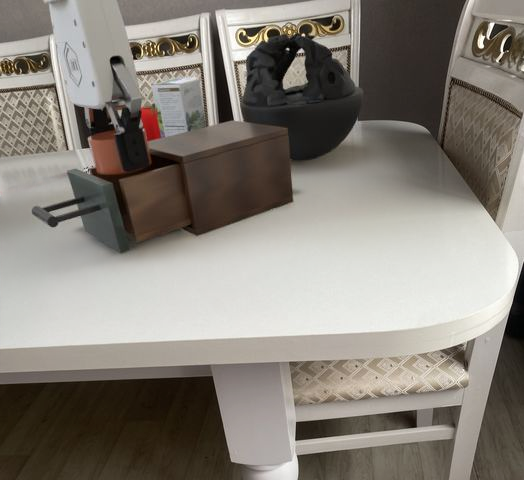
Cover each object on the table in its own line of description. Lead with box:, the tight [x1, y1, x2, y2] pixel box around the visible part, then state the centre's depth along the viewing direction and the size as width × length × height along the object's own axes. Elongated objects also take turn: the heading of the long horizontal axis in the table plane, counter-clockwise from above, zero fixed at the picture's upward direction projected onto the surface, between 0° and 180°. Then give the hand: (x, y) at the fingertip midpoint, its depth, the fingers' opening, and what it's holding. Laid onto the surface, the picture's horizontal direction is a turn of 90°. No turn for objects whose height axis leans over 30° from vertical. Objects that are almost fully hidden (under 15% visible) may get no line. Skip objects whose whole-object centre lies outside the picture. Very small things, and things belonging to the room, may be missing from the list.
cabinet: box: [148, 119, 294, 237], centre depth 70 cm, size 16×13×10 cm
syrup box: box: [151, 76, 207, 138], centre depth 88 cm, size 6×6×14 cm
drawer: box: [31, 154, 192, 254], centre depth 64 cm, size 21×11×8 cm, turn 127°
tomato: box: [141, 103, 161, 141], centre depth 98 cm, size 12×12×10 cm
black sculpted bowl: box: [239, 32, 364, 162], centre depth 86 cm, size 20×20×19 cm
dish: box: [87, 128, 152, 175], centre depth 62 cm, size 7×7×4 cm
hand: (123, 163), depth 62 cm, fingers closed on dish, 6 cm apart
